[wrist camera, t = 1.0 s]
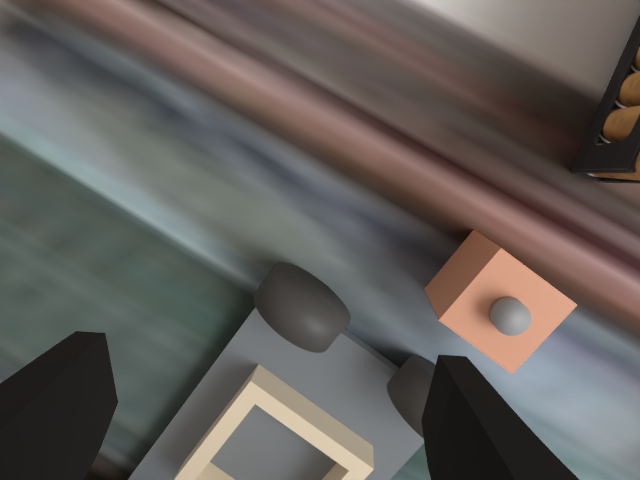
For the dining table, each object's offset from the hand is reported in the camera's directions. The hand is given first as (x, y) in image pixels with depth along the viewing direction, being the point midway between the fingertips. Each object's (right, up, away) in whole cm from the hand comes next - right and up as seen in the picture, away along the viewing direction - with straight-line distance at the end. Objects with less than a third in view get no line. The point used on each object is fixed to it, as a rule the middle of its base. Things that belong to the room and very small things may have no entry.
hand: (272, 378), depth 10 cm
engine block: (+10, +1, +15) cm, 19 cm away
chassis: (-2, -10, +19) cm, 21 cm away
